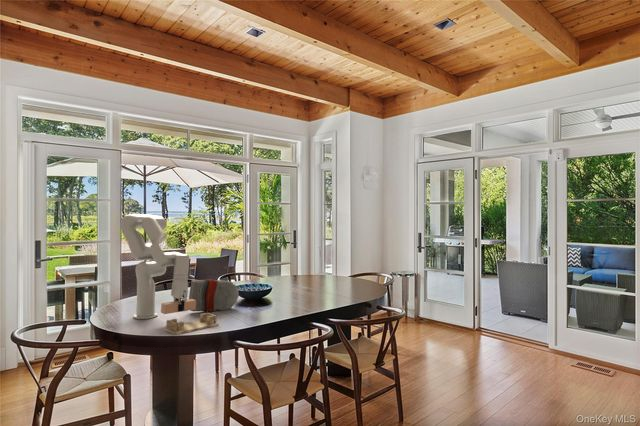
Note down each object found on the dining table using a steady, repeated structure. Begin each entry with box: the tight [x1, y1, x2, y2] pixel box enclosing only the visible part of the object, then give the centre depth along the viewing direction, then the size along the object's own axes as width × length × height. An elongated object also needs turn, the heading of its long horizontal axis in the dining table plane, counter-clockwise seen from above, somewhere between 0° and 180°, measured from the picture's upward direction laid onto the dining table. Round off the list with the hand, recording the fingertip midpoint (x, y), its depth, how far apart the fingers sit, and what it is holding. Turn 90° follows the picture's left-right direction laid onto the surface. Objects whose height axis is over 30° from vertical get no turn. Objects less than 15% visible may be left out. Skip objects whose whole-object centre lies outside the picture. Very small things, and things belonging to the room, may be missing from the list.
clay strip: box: [160, 298, 196, 315], centre depth 213 cm, size 18×4×5 cm, turn 137°
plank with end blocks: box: [164, 312, 220, 336], centre depth 204 cm, size 24×12×5 cm, turn 137°
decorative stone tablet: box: [188, 278, 240, 313], centre depth 241 cm, size 19×6×30 cm
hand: (178, 309), depth 213 cm, fingers closed on clay strip, 4 cm apart
